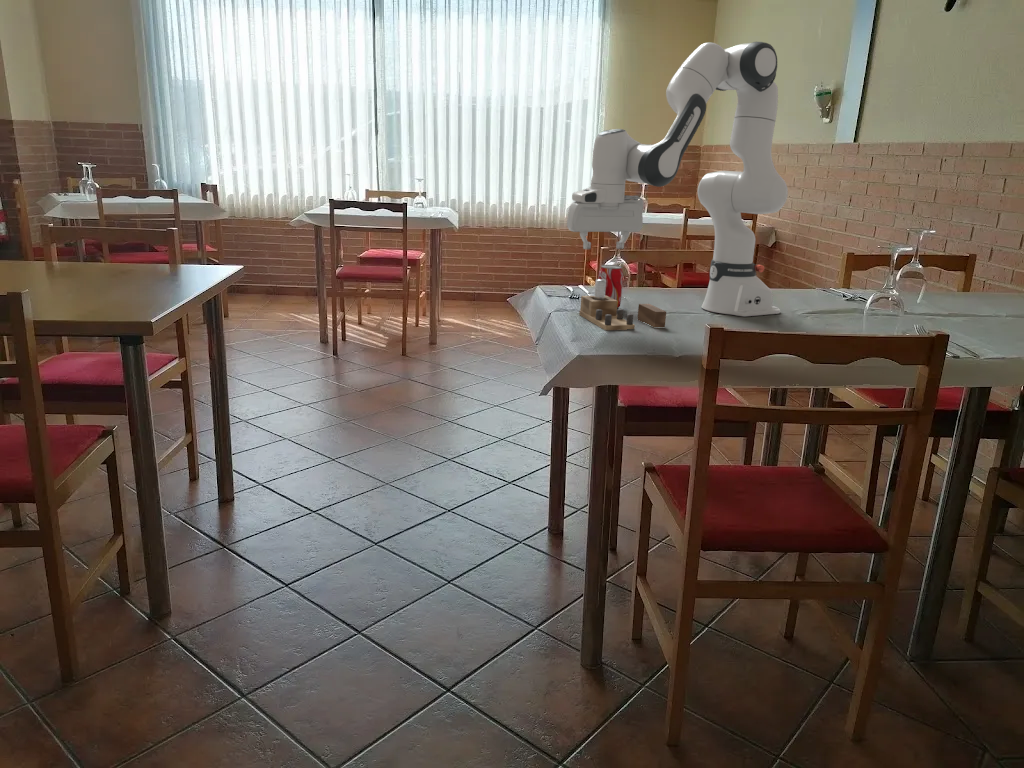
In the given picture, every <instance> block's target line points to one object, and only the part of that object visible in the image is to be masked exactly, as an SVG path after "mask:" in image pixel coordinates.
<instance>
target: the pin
mask: <svg viewBox="0 0 1024 768" xmlns="http://www.w3.org/2000/svg"><path fill="white" fill-rule="evenodd" d="M605 290H606V280H604V279H598V278H596V279H595V285H594V295H593V296H594V300H605Z"/></svg>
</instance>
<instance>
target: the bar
mask: <svg viewBox="0 0 1024 768" xmlns="http://www.w3.org/2000/svg"><path fill="white" fill-rule="evenodd" d="M666 318H667V311H666V310H664V309H661V308H660V307H657V306H654V305H653V304H650V303H638V309H637V317H636V319H638V320H637V321H639V320H640V321H639V322H641V321H642V322H641V323H643V322H645V323H647V324H649V325H651V326H653V327H665V328H666V320H667V319H666ZM645 323H644V324H645ZM647 324H646V325H647ZM649 325H648V326H649ZM651 326H650V327H651ZM653 327H652V328H653Z"/></svg>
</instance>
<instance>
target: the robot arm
mask: <svg viewBox="0 0 1024 768" xmlns="http://www.w3.org/2000/svg"><path fill="white" fill-rule="evenodd" d="M777 70H778V56H777V52H776V49H775V48H774V47H773V46H772V45H771V44H770V43H767V42H763V41H753V42H746V43H740V44H736V45H734V46H731V47H728V48H723V47H722V46H721V45H720V44H718V43H715V42H710V41H709V42H704V43H702V44H700V45H698V46H697V47H696V49H694V50H693V52H691V53H690V55H689V56H687V58H686V59H685V60H684V61H683V62H682V63H681V65H680V66H679V68H678V69H677V70H676V72H675V73H674V75H673V76H672V77H671V79H670V81H669V83H668V85H667V88H666V89H665V90H666V91H665V97H666V101H667V103H668V106H669V107H670V108H671V109H672V111H673V112H674V113H675V114H676V117H675V119H674V120H673V123H672V124H671V126H670V128H669V129H668V131H667V133H666V134H665V137H664V138H663V139H662V140H661V141H659V142H657V143H654V144H645V143H641V142H639V141H638V140H635V138H633V137H632V136H631V135H629V133H628V131H627V130H626V129H622V128H615V129H614V128H613V129H611V128H610V129H606V130H605V129H604V130H603V131H600V132H599V133H597V135H596V137H595V139H594V144H593V148H592V149H593V150H592V162H591V166H592V177H591V180H590V187H589V186H588V187H586V188H584V189H580V190H578V191H574V192H573V193H572V194H571V200H572V201H573V202H571V204H570V206H569V208H568V213H567V221H566V227H567V229H568V230H569V231H570V232H573V233H579V236H580V238H581V240H582V242H583V243H582V249H583V250H591V248H592V247H591V246H592V242H590V241H588V239H587V236H589V235H588V233H591V232H593V233H596V232H597V233H598V232H599V233H602V232H603V233H605V232H606V233H608V232H609V233H610V232H611V233H615V232H616V233H619V232H620V235H621V238H620V240H619V241H616V242H615V243H616V246H615V247H616V249H617V250H623V249H624V247H625V243H626V241H627V240H628V238H629V237H630V232H631V233H632V232H633V233H638V232H640V231H642V229H643V227H644V226H643V222H644V221H643V220H644V219H643V210H644V200H643V199H642V197H640V195H625V191H626V181H628V182H634V183H638V184H645V185H650V186H652V187H659V188H661V187H664V186H667V185H668V184H670V183H671V182H672V181H673V180H674V178H676V175H677V173H678V171H679V168H680V165H681V162H682V159H683V158H684V157H683V156H684V154H685V152H686V150H687V149H688V146H689V145H690V143H691V141H692V140H693V138H694V136H695V134H696V132H697V131H698V129H699V127H700V125H701V123H702V121H703V119H704V117H705V115H706V112H707V103H708V102H709V100H710V98H711V97H712V95H713V94H714V93H715V91H720V92H721V91H723V92H725V91H735V92H736V95H737V104H736V108H735V112H734V116H733V123H732V129H731V133H730V139H729V146H730V150H731V151H732V153H733V154H734V155H735V156H737V157H738V158H739V159H740V160H741V161H742V163H743V171H733V170H732V171H731V170H719V171H712V172H708V173H706V174H705V175H704V176H702V178H701V179H700V181H699V183H698V186H697V198H698V201H699V202H700V204H701V205H702V206H703V207H704V209H706V211H707V212H708V214H709V216H710V218H711V221H712V224H713V229H714V243H713V244H714V246H713V247H714V248H713V254H712V255H713V257H712V259H711V261H710V268H709V282H708V286H707V290H706V294H705V296H704V300H703V302H702V305H701V308H702V309H703V310H705V311H708V312H713V313H719V314H725V315H733V316H738V317H751V316H752V317H753V316H763V315H765V316H766V315H775V314H777V315H778V314H780V313H781V310H780V308H779V307H777V306H775V305H774V295H773V291H772V289H771V288H770V287H768V286H767V285H766V284H765V282H763V281H762V280H761V279H760V278H759V277H758V276H757V272H759V273H763V272H764V271H765V266H764V265H762V264H757V265H756V264H755V263H754V262H753V261H754V254H755V247H756V234H755V233H754V231H753V230H752V229H751V228H749V227H748V226H746V224H745V223H744V221H743V219H742V213H743V214H744V213H746V214H753V215H766V214H775V213H777V212H779V211H780V210H782V208H783V207H784V206H785V204H786V202H787V199H788V194H789V190H788V184H787V182H786V180H785V179H784V178H783V177H782V175H780V173H778V171H777V169H776V168H775V165H774V162H773V161H774V160H773V156H772V145H773V137H774V134H775V133H774V131H775V126H776V122H777V121H776V120H777V114H778V105H779V104H778V103H779V88H778V85H777V83H776V82H775V80H776V77H777Z"/></svg>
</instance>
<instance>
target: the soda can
mask: <svg viewBox="0 0 1024 768" xmlns="http://www.w3.org/2000/svg"><path fill="white" fill-rule="evenodd" d="M622 268H623V267H622V266H621V265H617V264H616V265H615V264H601V267H600V269H599V271H598V275H597V279H604V280H606V290H605V296H608V297H610V298H613V299H615V300H617V301H618V302H617V309H619V308H620V307H621V303H622V295H623V285H624V284H623V283H624V282H623V281H624V272H623V269H622Z"/></svg>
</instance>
